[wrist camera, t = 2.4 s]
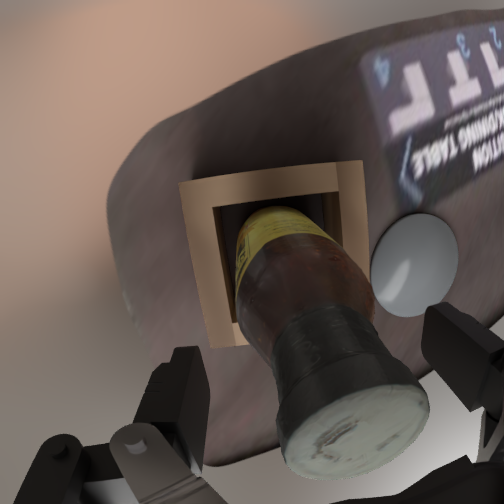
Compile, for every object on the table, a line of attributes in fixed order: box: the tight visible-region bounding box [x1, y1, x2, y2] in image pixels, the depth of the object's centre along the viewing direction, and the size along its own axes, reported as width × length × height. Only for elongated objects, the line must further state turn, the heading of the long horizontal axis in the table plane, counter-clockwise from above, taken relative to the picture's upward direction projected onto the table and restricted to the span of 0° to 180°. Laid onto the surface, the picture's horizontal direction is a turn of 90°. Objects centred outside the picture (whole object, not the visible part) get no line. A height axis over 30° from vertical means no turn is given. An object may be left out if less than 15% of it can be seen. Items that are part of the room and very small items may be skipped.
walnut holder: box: [179, 160, 370, 348], centre depth 23 cm, size 12×12×5 cm
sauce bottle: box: [235, 205, 430, 480], centre depth 16 cm, size 6×6×20 cm
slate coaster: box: [370, 213, 458, 317], centre depth 26 cm, size 10×10×1 cm
